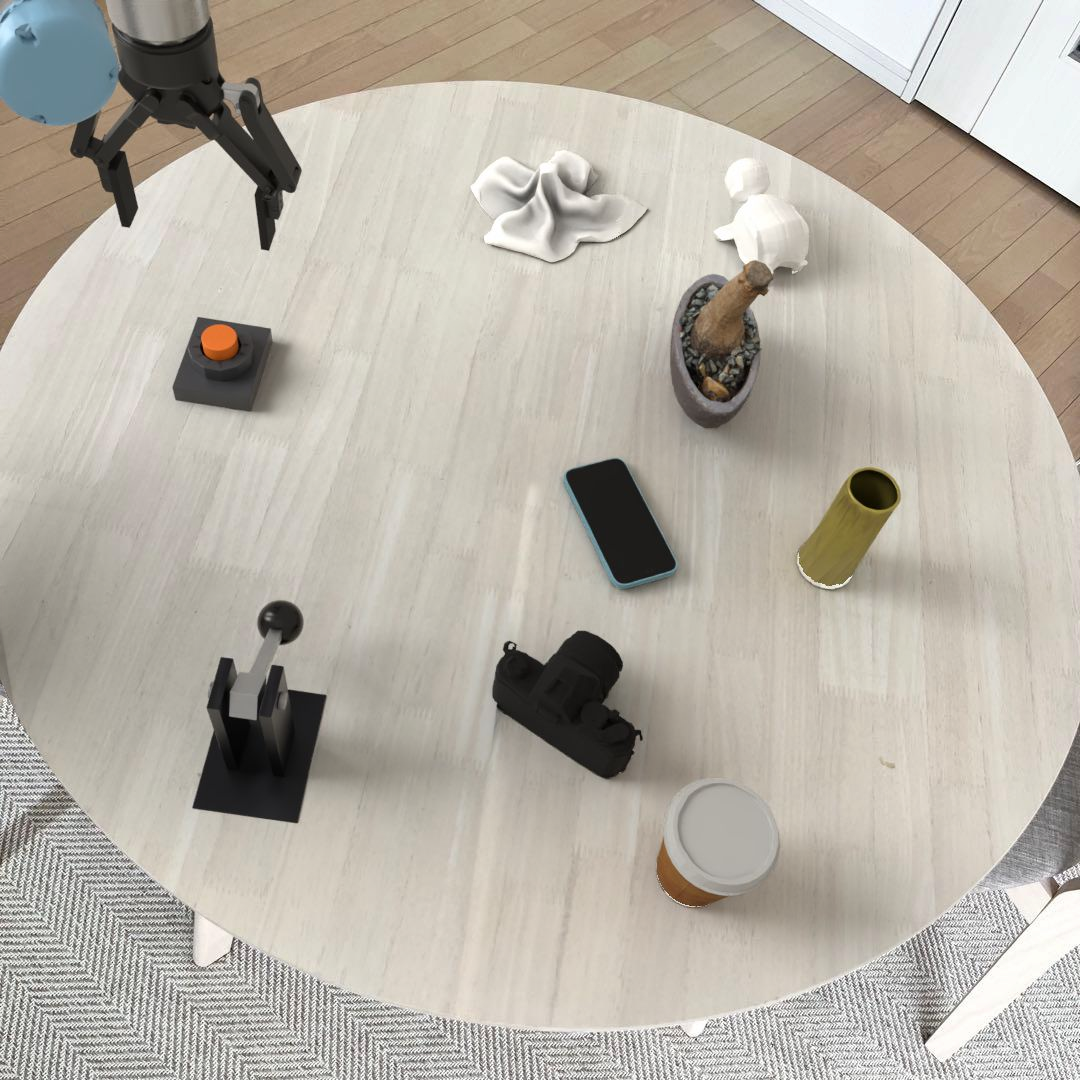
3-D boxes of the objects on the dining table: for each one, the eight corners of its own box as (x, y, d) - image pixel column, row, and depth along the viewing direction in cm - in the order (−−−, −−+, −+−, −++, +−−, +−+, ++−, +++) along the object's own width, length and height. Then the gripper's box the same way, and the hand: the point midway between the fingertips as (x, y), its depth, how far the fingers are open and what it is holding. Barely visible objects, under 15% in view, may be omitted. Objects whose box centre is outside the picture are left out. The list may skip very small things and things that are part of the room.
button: (199, 358, 118) (197, 347, 117) (208, 332, 120) (206, 321, 119) (233, 363, 118) (231, 352, 117) (242, 338, 120) (240, 327, 119)
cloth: (497, 273, 135) (501, 235, 129) (449, 169, 143) (451, 128, 138) (666, 242, 141) (677, 204, 135) (610, 144, 149) (619, 104, 144)
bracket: (229, 686, 104) (208, 610, 91) (326, 700, 104) (319, 627, 92) (193, 812, 97) (166, 750, 85) (298, 827, 98) (285, 767, 85)
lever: (262, 626, 102) (264, 588, 100) (306, 632, 102) (309, 595, 100) (217, 722, 89) (218, 681, 87) (267, 730, 89) (269, 689, 88)
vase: (783, 560, 118) (829, 483, 106) (821, 530, 121) (870, 452, 109) (827, 601, 116) (879, 527, 104) (864, 569, 119) (919, 494, 107)
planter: (697, 468, 123) (747, 346, 106) (603, 365, 129) (637, 234, 112) (794, 412, 129) (856, 288, 112) (701, 316, 135) (746, 185, 118)
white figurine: (794, 281, 144) (751, 174, 145) (827, 252, 136) (782, 140, 137) (737, 297, 141) (694, 188, 143) (767, 268, 133) (722, 153, 135)
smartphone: (622, 455, 122) (681, 569, 114) (620, 461, 122) (679, 574, 115) (560, 471, 119) (617, 588, 112) (559, 477, 120) (615, 593, 113)
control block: (175, 400, 120) (169, 376, 116) (200, 330, 125) (195, 304, 121) (250, 412, 120) (247, 388, 116) (272, 341, 125) (269, 316, 122)
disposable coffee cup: (631, 915, 97) (661, 878, 87) (643, 809, 102) (672, 762, 92) (740, 936, 97) (782, 902, 87) (746, 829, 102) (787, 784, 92)
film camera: (664, 714, 107) (685, 674, 100) (610, 793, 103) (628, 758, 95) (533, 626, 111) (544, 581, 103) (475, 699, 106) (482, 658, 98)
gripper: (329, 16, 89) (338, 222, 108) (18, -39, 88) (80, 179, 107) (308, 75, 85) (321, 279, 104) (-17, 19, 84) (54, 235, 103)
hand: (199, 228), depth 105 cm, fingers open, 12 cm apart
